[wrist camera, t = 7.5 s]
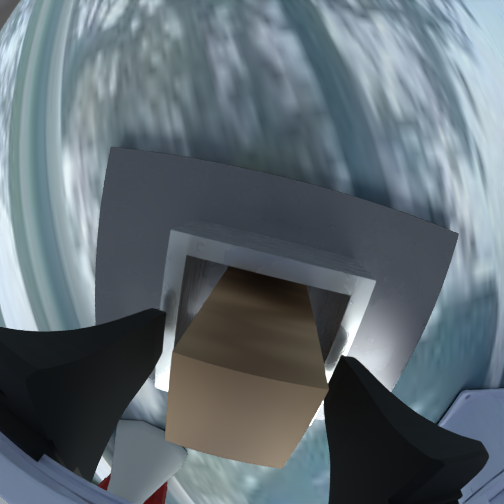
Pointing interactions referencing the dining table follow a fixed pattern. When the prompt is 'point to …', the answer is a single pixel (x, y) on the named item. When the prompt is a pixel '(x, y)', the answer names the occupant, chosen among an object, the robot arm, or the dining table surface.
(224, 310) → the walnut rail post
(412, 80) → the dining table surface
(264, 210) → the post socket base
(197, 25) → the dining table surface
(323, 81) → the dining table surface
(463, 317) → the dining table surface
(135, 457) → the flask
